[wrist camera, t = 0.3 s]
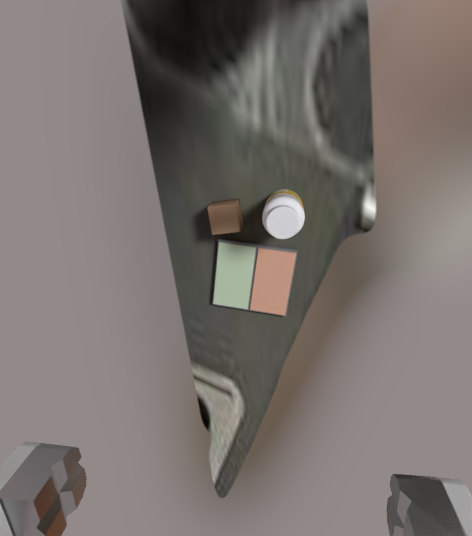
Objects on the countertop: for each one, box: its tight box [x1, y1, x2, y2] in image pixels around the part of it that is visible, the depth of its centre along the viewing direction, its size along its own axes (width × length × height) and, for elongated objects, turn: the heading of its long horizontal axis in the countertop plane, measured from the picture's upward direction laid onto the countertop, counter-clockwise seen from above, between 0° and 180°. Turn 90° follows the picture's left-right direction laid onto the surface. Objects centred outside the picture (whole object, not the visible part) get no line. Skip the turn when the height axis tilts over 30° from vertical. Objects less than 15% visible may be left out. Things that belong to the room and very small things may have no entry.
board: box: [212, 238, 298, 316], centre depth 56 cm, size 11×12×1 cm
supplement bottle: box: [262, 189, 305, 239], centre depth 47 cm, size 5×5×10 cm
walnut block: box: [207, 198, 243, 235], centre depth 52 cm, size 4×4×4 cm
